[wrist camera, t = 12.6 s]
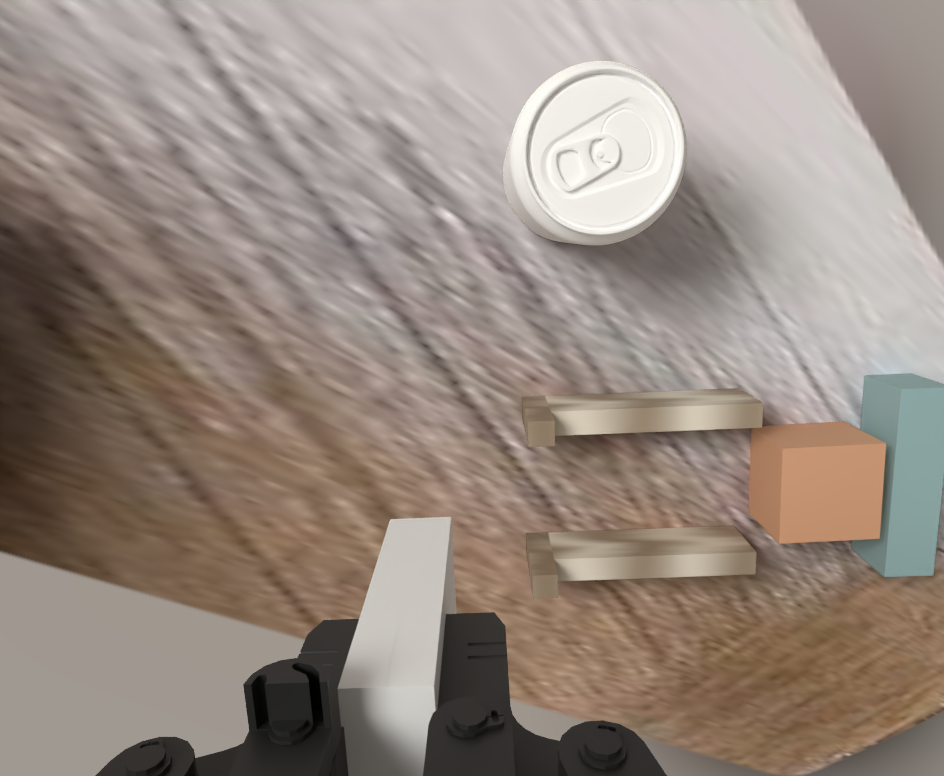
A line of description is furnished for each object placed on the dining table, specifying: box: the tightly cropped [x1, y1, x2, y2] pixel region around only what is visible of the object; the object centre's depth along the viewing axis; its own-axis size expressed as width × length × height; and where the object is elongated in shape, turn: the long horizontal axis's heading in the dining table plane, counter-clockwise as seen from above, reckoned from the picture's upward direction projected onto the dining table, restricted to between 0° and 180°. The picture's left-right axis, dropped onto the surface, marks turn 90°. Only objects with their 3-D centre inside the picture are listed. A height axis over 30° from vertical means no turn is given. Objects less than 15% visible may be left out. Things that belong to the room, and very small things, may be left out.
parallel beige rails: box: [522, 388, 763, 599], centre depth 44 cm, size 14×11×6 cm
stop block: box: [851, 374, 944, 577], centre depth 44 cm, size 3×12×4 cm, turn 3°
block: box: [749, 421, 886, 544], centre depth 44 cm, size 6×6×5 cm
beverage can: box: [503, 61, 687, 245], centre depth 37 cm, size 8×8×12 cm
